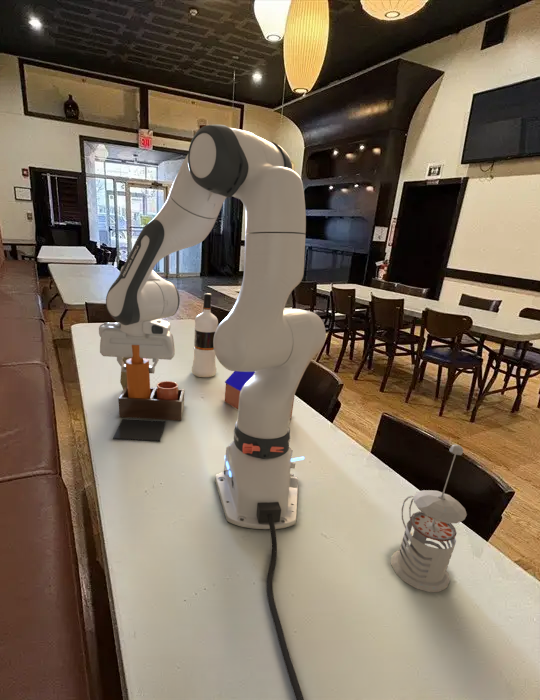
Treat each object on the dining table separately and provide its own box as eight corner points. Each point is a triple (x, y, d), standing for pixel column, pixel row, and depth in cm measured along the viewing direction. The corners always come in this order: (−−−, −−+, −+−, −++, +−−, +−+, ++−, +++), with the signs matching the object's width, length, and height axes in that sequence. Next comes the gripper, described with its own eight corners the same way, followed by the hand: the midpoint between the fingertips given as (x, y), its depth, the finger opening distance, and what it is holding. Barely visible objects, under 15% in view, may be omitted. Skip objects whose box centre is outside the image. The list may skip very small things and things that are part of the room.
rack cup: (176, 418, 120) (177, 389, 117) (155, 416, 120) (155, 388, 116) (178, 409, 125) (179, 381, 122) (158, 408, 125) (158, 380, 122)
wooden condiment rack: (181, 420, 118) (181, 401, 116) (119, 417, 117) (118, 398, 115) (184, 407, 127) (184, 389, 125) (126, 404, 126) (125, 385, 124)
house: (263, 426, 119) (267, 389, 115) (223, 401, 133) (225, 367, 129) (293, 417, 126) (298, 382, 122) (251, 394, 140) (254, 362, 136)
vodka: (210, 379, 150) (214, 297, 139) (187, 375, 153) (189, 293, 142) (219, 372, 158) (224, 293, 147) (198, 367, 161) (201, 290, 150)
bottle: (148, 404, 117) (145, 347, 111) (126, 404, 117) (122, 346, 111) (152, 396, 123) (149, 340, 117) (131, 395, 123) (127, 340, 116)
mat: (159, 441, 107) (159, 440, 107) (112, 439, 106) (112, 437, 106) (165, 422, 117) (165, 420, 117) (122, 419, 116) (122, 418, 116)
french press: (414, 597, 67) (455, 465, 58) (374, 545, 77) (403, 427, 68) (463, 586, 70) (509, 459, 61) (417, 538, 80) (451, 423, 71)
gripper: (95, 324, 109) (98, 374, 114) (173, 329, 110) (172, 377, 115) (101, 319, 114) (104, 366, 119) (175, 323, 116) (175, 370, 121)
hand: (138, 372), depth 117 cm, fingers closed on bottle, 6 cm apart
